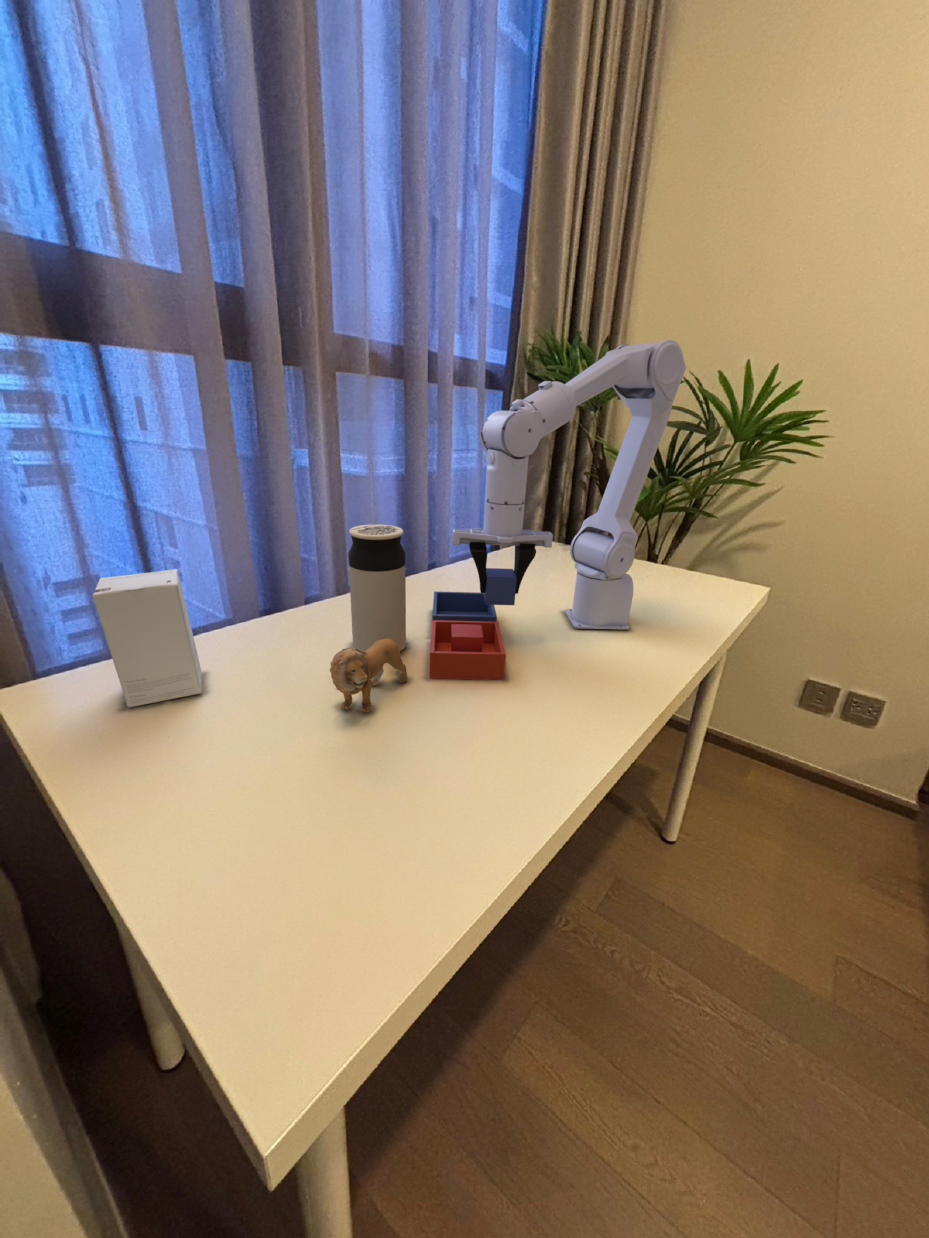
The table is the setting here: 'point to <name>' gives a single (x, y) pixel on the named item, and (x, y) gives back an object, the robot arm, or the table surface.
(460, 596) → the blue bin
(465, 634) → the red block
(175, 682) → the cosmetic box
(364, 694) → the lion figurine
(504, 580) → the blue block
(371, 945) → the table surface
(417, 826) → the table surface
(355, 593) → the travel mug
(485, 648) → the red bin
